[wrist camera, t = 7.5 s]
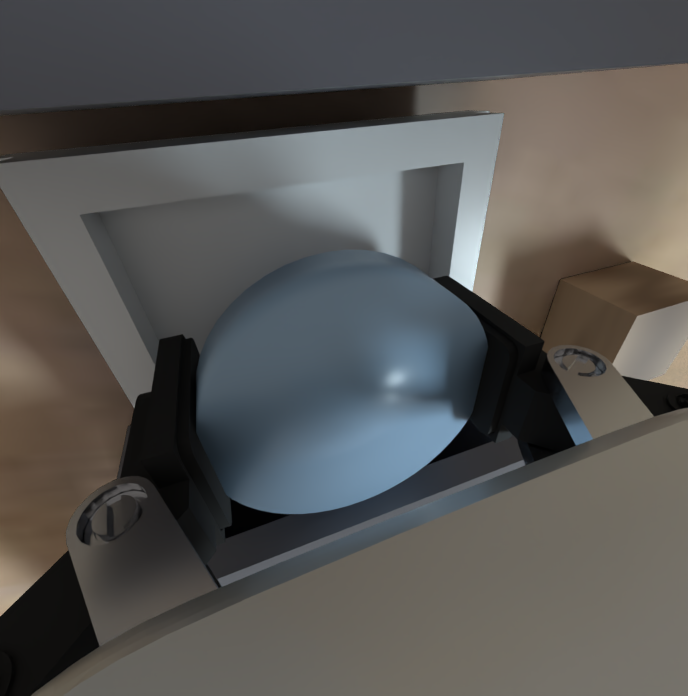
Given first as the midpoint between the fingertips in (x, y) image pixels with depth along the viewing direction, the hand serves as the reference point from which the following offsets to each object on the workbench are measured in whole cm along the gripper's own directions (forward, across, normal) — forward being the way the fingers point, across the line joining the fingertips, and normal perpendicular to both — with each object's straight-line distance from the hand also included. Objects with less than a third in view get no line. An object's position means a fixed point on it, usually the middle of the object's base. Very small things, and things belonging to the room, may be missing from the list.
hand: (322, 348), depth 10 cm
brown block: (+4, -16, +5) cm, 17 cm away
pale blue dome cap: (-1, 0, 0) cm, 1 cm away
